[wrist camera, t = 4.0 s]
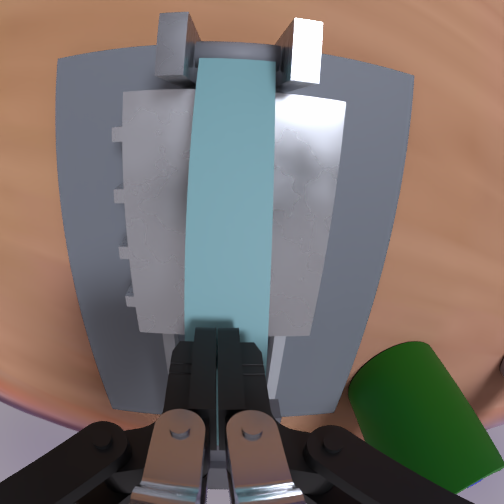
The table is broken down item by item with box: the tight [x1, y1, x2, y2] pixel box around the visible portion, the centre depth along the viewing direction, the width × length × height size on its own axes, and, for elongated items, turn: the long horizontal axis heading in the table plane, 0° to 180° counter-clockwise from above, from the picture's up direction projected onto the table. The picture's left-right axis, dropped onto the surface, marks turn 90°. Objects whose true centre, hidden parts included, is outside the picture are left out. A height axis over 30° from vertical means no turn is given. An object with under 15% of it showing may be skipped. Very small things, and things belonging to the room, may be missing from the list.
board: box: [56, 45, 414, 417], centre depth 21 cm, size 22×30×3 cm
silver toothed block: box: [112, 12, 346, 336], centre depth 15 cm, size 11×16×7 cm
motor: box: [348, 342, 504, 494], centre depth 20 cm, size 10×9×20 cm
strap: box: [184, 41, 281, 445], centre depth 12 cm, size 3×17×1 cm, turn 176°
